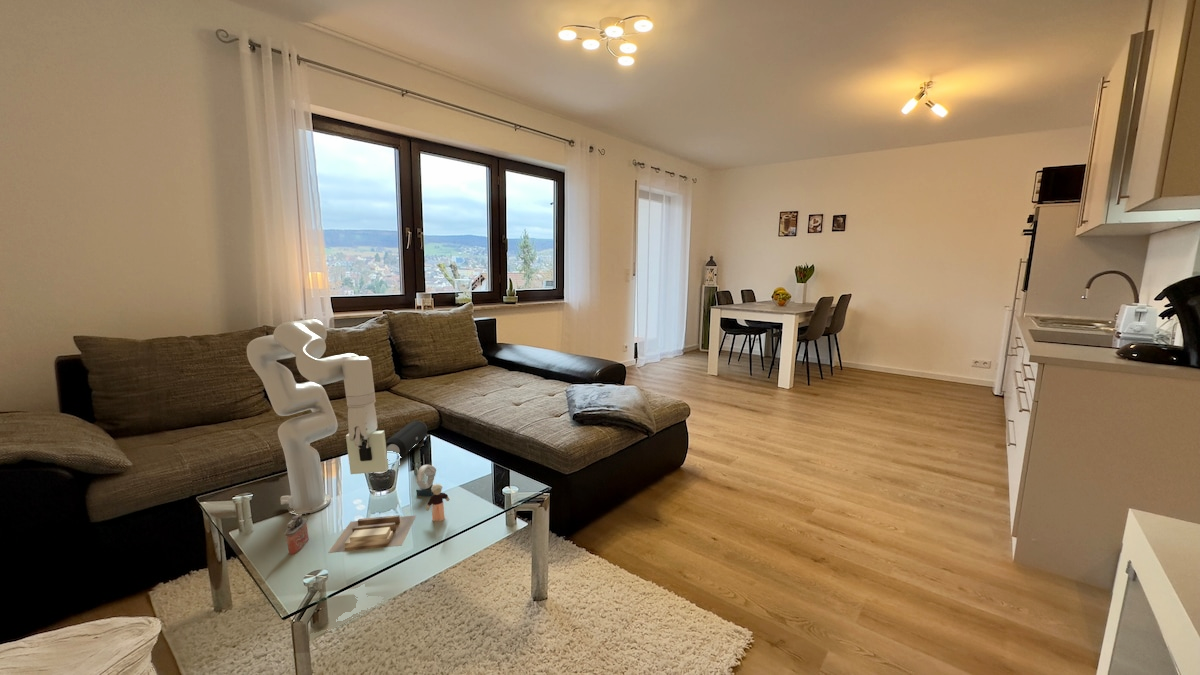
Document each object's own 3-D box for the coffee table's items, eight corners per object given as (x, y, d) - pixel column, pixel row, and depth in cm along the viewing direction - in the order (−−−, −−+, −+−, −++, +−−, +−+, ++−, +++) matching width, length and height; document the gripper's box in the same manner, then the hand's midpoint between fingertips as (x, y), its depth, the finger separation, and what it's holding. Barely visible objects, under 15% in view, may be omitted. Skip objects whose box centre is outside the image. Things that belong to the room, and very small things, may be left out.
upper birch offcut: (350, 542, 133) (349, 537, 133) (355, 535, 137) (354, 530, 137) (386, 538, 135) (386, 533, 134) (390, 531, 138) (390, 526, 138)
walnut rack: (328, 556, 131) (326, 544, 131) (351, 524, 147) (349, 514, 146) (402, 548, 134) (400, 537, 133) (416, 518, 149) (415, 508, 149)
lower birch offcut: (345, 548, 133) (344, 543, 133) (350, 539, 137) (350, 535, 137) (388, 543, 135) (388, 538, 134) (393, 535, 139) (392, 530, 138)
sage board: (350, 474, 138) (345, 435, 136) (353, 470, 140) (349, 432, 138) (386, 471, 139) (381, 433, 137) (388, 467, 141) (384, 430, 139)
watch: (440, 490, 168) (437, 461, 166) (429, 501, 160) (425, 471, 158) (426, 489, 169) (423, 460, 167) (414, 500, 161) (410, 470, 159)
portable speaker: (404, 463, 192) (401, 440, 190) (381, 463, 193) (378, 440, 191) (430, 439, 217) (428, 418, 215) (409, 439, 218) (407, 419, 216)
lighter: (301, 541, 139) (296, 510, 137) (313, 540, 139) (308, 509, 138) (285, 558, 131) (280, 525, 129) (298, 557, 131) (292, 524, 130)
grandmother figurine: (434, 528, 143) (430, 490, 141) (426, 525, 145) (422, 487, 143) (454, 516, 150) (450, 479, 148) (446, 513, 152) (442, 477, 150)
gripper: (358, 392, 143) (365, 448, 146) (335, 408, 127) (343, 471, 131) (383, 390, 144) (390, 446, 147) (364, 406, 128) (371, 469, 131)
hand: (368, 457), depth 139 cm, fingers closed on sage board, 2 cm apart
